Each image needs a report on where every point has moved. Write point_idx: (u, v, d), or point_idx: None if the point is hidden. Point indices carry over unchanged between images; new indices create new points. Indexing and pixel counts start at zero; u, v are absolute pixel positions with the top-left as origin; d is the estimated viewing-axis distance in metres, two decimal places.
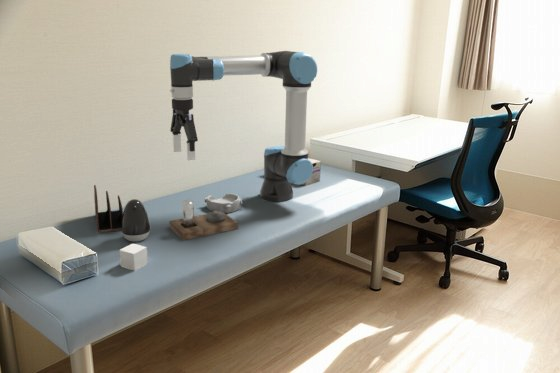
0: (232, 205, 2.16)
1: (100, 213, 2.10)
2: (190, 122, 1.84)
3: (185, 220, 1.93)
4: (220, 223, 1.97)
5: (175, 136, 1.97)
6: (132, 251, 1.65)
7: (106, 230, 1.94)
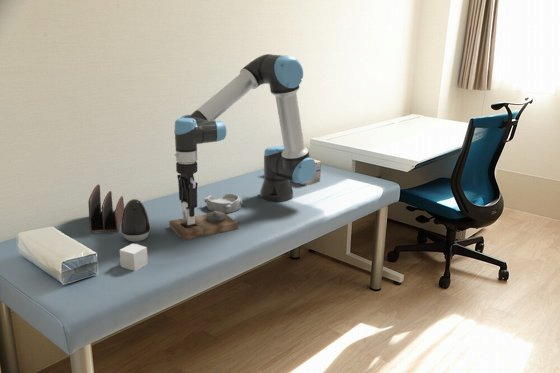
0: (232, 205, 2.16)
1: None
2: (193, 190, 1.86)
3: (185, 220, 1.93)
4: (220, 223, 1.97)
5: None
6: (132, 251, 1.65)
7: (99, 231, 1.93)
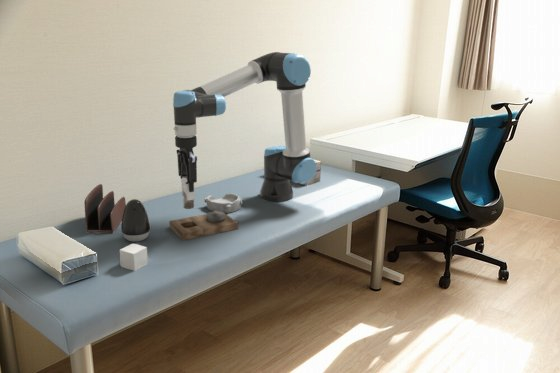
0: (232, 205, 2.16)
1: None
2: (192, 164, 1.83)
3: (184, 196, 1.90)
4: (220, 223, 1.97)
5: None
6: (132, 251, 1.65)
7: (94, 231, 1.93)
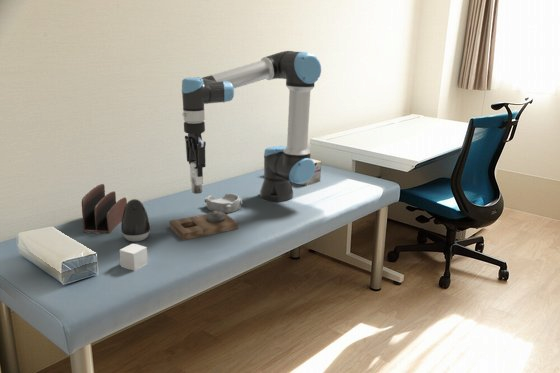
0: (232, 205, 2.16)
1: None
2: (201, 149, 1.87)
3: (193, 181, 1.94)
4: (220, 223, 1.97)
5: None
6: (132, 251, 1.65)
7: (91, 230, 1.93)
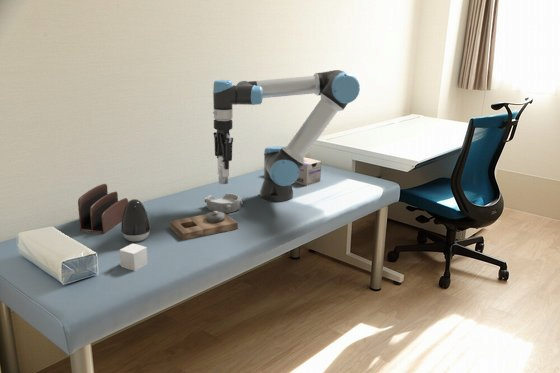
0: (232, 205, 2.16)
1: None
2: (229, 144, 2.08)
3: (220, 172, 2.15)
4: (220, 223, 1.97)
5: None
6: (132, 251, 1.65)
7: (87, 230, 1.94)
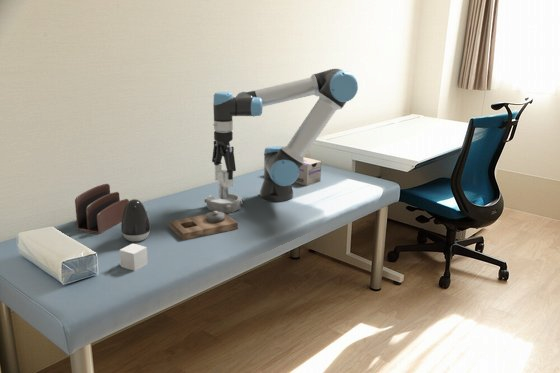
0: (232, 205, 2.16)
1: None
2: (230, 154, 2.08)
3: (220, 187, 2.17)
4: (220, 223, 1.97)
5: (217, 166, 2.20)
6: (132, 251, 1.65)
7: (84, 229, 1.94)
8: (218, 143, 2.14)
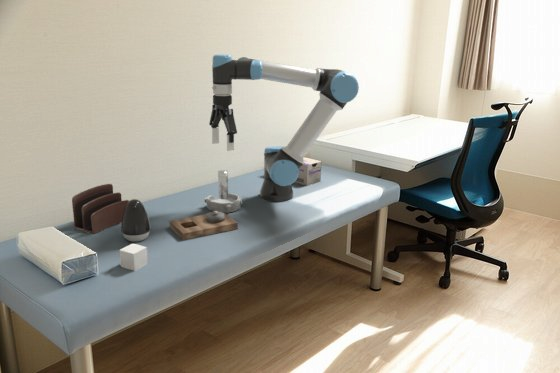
0: (232, 205, 2.16)
1: None
2: (230, 116, 2.03)
3: (220, 188, 2.17)
4: (220, 223, 1.97)
5: (214, 129, 2.16)
6: (132, 251, 1.65)
7: (80, 229, 1.95)
8: (217, 108, 2.10)
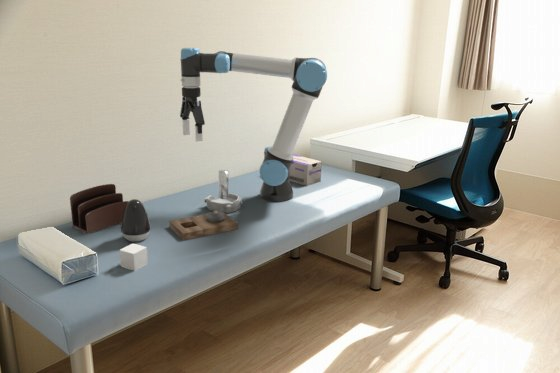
0: (232, 205, 2.16)
1: None
2: (198, 107, 2.09)
3: (220, 187, 2.17)
4: (220, 223, 1.97)
5: (184, 121, 2.22)
6: (132, 251, 1.65)
7: (77, 227, 1.96)
8: (186, 100, 2.16)
